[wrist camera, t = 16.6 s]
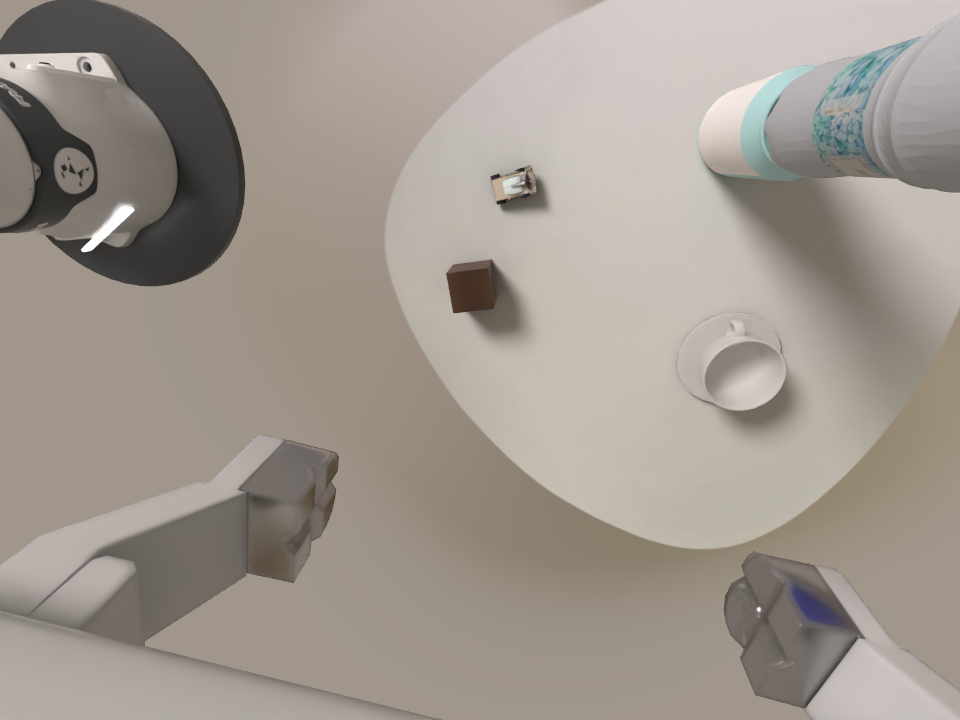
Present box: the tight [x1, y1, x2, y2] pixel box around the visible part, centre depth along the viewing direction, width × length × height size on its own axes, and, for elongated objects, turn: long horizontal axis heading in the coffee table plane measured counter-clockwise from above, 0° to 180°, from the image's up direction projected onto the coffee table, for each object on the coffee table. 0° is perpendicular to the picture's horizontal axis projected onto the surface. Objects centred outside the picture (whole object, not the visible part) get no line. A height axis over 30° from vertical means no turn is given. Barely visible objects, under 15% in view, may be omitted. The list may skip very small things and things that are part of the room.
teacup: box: [677, 313, 787, 411], centre depth 48 cm, size 10×10×5 cm
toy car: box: [491, 166, 537, 205], centre depth 45 cm, size 3×4×2 cm, turn 105°
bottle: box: [764, 14, 960, 192], centre depth 22 cm, size 7×7×20 cm
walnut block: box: [446, 260, 497, 313], centre depth 48 cm, size 4×4×4 cm
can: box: [698, 65, 818, 181], centre depth 36 cm, size 7×7×12 cm
